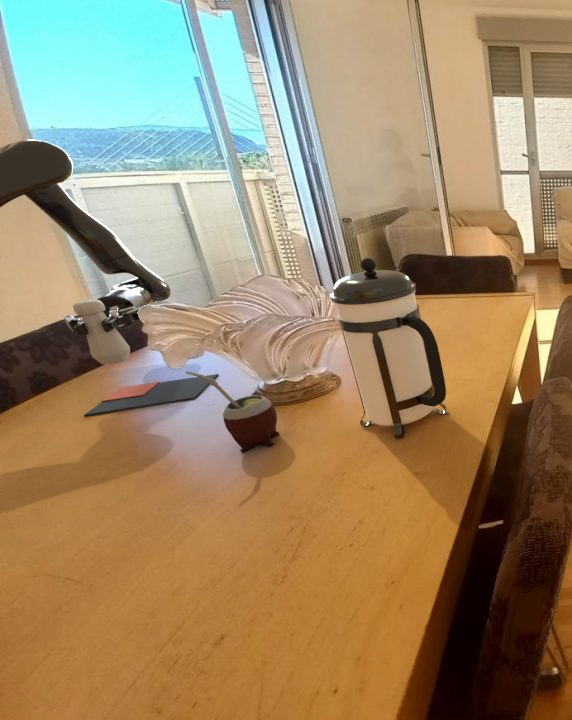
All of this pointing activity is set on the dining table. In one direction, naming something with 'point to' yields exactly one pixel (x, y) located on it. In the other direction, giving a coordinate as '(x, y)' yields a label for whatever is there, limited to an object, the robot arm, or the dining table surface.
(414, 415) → the coffee press
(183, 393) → the dark grey flat slab
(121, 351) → the salt shaker
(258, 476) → the dining table surface
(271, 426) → the mate gourd
